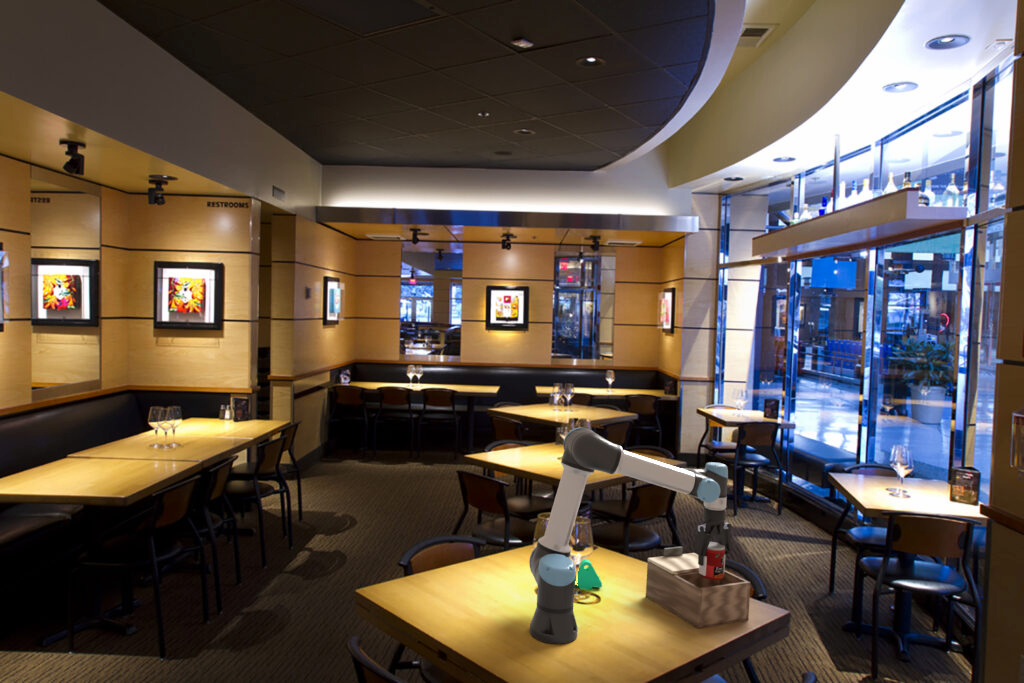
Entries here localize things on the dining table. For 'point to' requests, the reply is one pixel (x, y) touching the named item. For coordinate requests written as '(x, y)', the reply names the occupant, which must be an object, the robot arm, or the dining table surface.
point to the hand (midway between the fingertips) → (711, 572)
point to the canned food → (715, 561)
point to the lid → (676, 561)
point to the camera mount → (587, 576)
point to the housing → (699, 596)
